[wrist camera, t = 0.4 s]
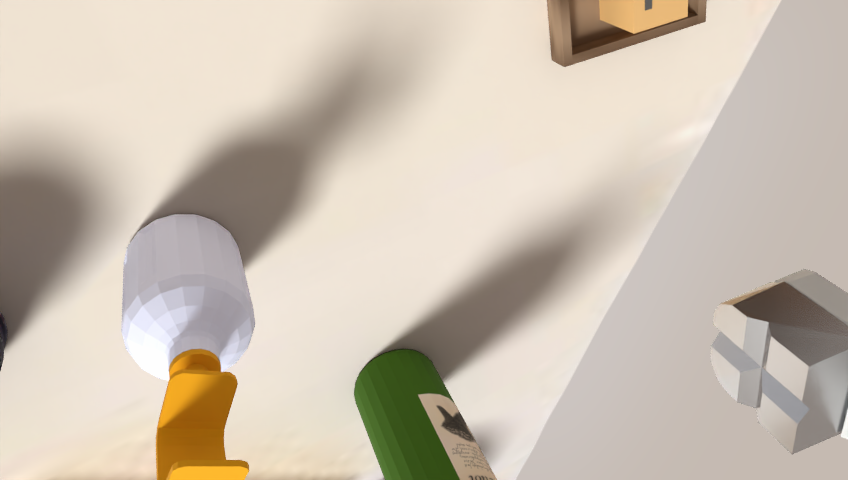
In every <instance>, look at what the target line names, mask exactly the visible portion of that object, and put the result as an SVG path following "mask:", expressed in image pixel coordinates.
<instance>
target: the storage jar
mask: <svg viewBox="0 0 848 480" xmlns="http://www.w3.org/2000/svg"><path fill="white" fill-rule="evenodd" d="M6 340H7V326H6V322H5V319H4V317H3V315H2V313H1V312H0V370H1V367H2V363H3V358H4V348H5V344H6Z"/></svg>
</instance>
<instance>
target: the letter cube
mask: <svg viewBox="0 0 848 480" xmlns="http://www.w3.org/2000/svg"><path fill="white" fill-rule="evenodd" d="M599 8H600V20H602V21H604V22H607V23H609V24H611V25H614V26H616V27H619V28H621V29H624V30H626V31H629V32H631V33H633V34H635V33H638V32H641V31H644V30H647V29H650V28H654V27H657V26H660V25H663V24H666V23H669V22H672V21H675V20H679V19H682V18H685V17H688V0H599Z"/></svg>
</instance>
